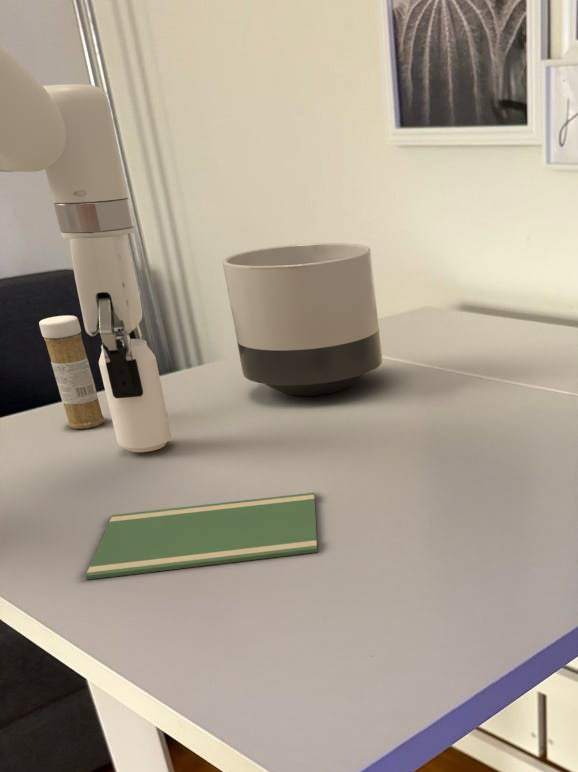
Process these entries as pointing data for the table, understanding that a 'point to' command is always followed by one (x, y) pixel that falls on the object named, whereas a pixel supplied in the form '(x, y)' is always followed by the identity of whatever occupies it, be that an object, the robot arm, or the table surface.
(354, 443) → the table surface
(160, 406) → the beverage can
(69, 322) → the sprinkles bottle
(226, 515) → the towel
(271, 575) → the table surface
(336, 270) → the planter
